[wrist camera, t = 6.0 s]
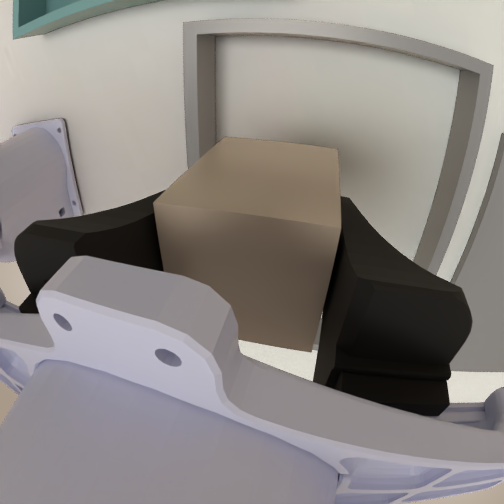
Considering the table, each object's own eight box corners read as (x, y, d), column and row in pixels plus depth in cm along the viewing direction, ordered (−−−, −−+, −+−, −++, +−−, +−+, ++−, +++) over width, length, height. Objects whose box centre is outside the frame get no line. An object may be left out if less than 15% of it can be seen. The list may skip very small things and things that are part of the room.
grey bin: (391, 334, 27) (393, 359, 25) (214, 306, 30) (203, 329, 27) (472, 62, 13) (493, 65, 11) (203, 25, 16) (183, 22, 14)
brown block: (322, 244, 14) (311, 352, 10) (226, 230, 15) (174, 325, 10) (337, 149, 12) (341, 227, 7) (224, 136, 12) (153, 202, 8)
